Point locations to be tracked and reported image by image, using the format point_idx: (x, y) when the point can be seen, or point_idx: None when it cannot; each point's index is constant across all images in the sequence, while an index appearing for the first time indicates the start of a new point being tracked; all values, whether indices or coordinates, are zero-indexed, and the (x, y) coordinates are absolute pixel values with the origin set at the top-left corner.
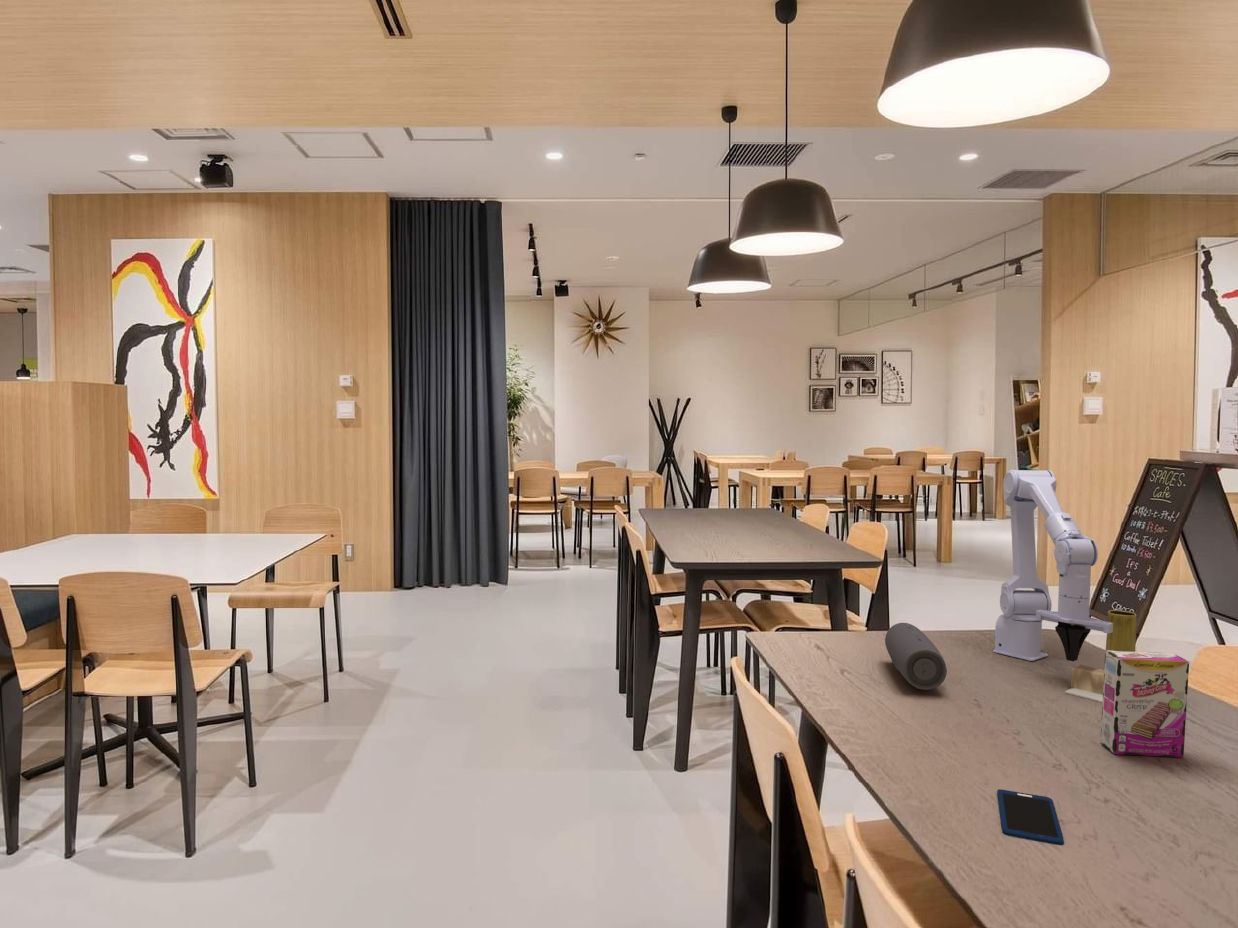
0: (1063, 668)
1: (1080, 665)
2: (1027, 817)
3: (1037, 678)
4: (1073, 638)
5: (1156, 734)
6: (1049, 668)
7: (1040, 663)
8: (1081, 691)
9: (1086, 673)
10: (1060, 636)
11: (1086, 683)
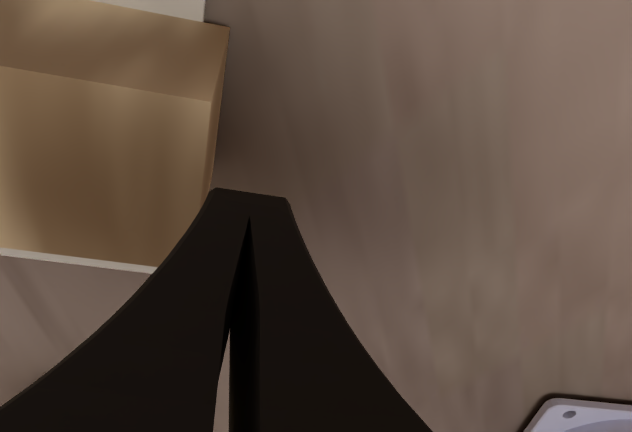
0: None
1: None
2: None
3: (502, 111)
4: (103, 406)
5: None
6: (449, 352)
7: (502, 396)
8: None
9: (45, 64)
10: (400, 422)
11: (75, 22)
